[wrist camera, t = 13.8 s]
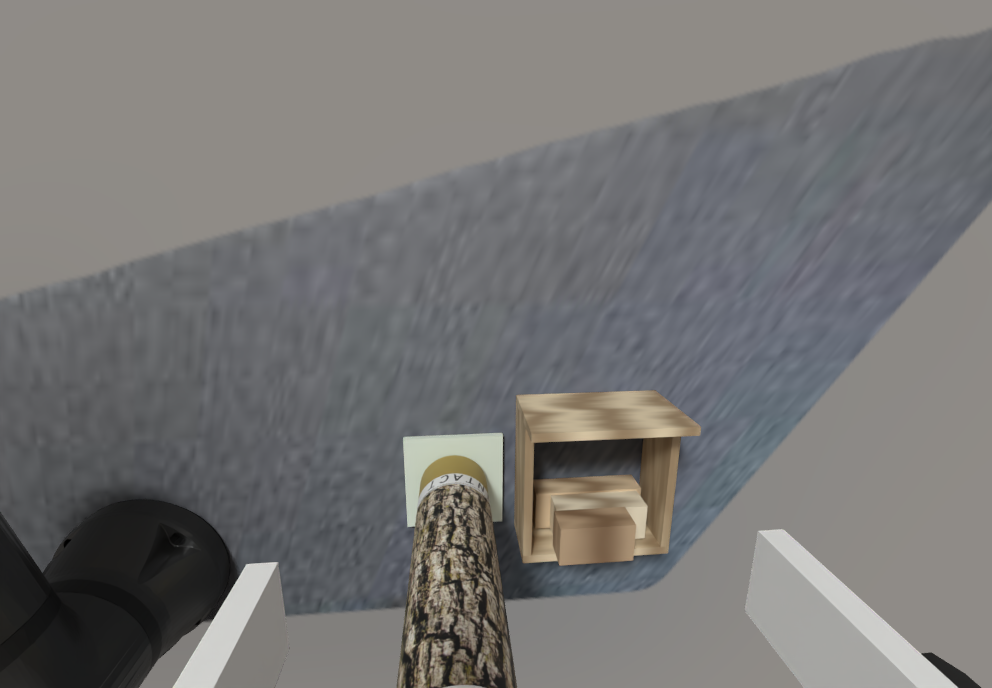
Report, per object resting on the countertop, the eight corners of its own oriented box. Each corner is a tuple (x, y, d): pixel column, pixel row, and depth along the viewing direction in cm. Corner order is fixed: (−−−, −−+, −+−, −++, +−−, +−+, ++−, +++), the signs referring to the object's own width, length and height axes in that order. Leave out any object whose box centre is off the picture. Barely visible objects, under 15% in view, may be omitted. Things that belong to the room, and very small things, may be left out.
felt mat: (408, 523, 49) (407, 526, 48) (403, 436, 46) (403, 439, 45) (501, 517, 50) (502, 521, 49) (502, 432, 47) (502, 435, 46)
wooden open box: (514, 524, 50) (528, 586, 41) (516, 395, 46) (531, 433, 37) (643, 516, 51) (682, 575, 43) (655, 390, 48) (701, 426, 39)
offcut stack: (530, 512, 50) (546, 567, 42) (531, 479, 49) (547, 529, 41) (628, 506, 51) (661, 559, 43) (630, 474, 50) (665, 522, 42)
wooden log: (478, 515, 48) (506, 800, 24) (414, 505, 47) (378, 793, 23) (493, 458, 47) (539, 701, 23) (427, 446, 46) (403, 688, 22)
